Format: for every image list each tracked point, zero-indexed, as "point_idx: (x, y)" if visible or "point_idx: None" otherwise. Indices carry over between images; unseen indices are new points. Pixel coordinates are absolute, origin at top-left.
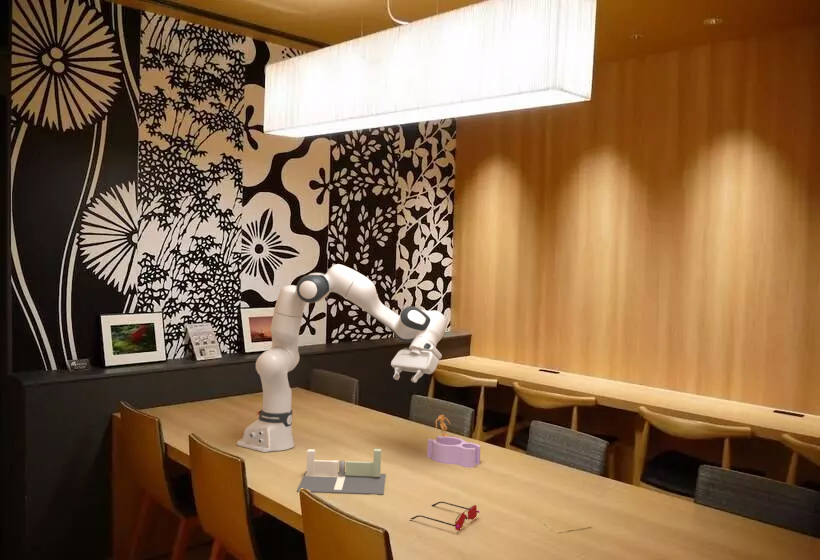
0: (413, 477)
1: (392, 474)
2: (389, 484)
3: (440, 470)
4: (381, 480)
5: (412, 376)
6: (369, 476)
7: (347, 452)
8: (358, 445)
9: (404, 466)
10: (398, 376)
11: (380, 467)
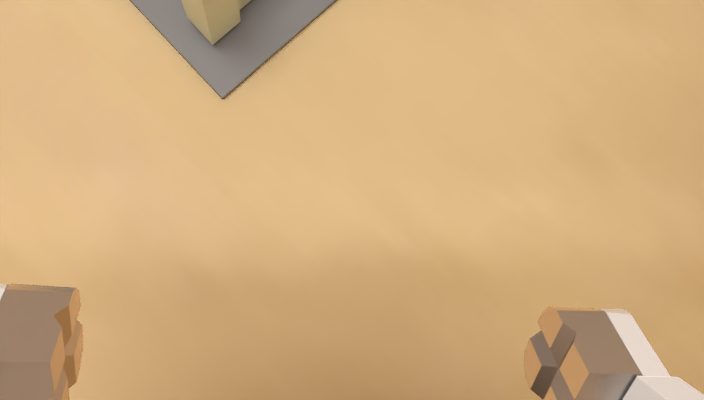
0: (90, 183)
1: (203, 132)
2: (106, 12)
3: None
4: (163, 8)
5: (45, 343)
6: (249, 6)
7: (625, 202)
8: (685, 337)
9: (251, 278)
10: (559, 388)
11: (206, 27)
